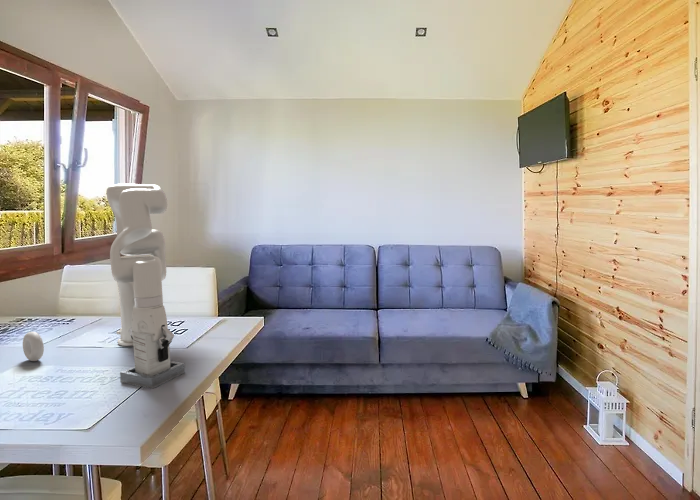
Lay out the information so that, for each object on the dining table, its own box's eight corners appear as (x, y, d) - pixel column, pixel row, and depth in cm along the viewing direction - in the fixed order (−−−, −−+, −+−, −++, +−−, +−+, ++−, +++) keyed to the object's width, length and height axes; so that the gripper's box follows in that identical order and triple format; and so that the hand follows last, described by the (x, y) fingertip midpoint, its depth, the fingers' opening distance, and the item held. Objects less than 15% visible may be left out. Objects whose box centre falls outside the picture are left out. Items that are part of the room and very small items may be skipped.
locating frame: (120, 382, 125) (120, 372, 124) (154, 367, 136) (153, 358, 136) (152, 388, 120) (152, 378, 120) (184, 372, 132) (184, 363, 131)
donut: (47, 362, 142) (44, 332, 141) (35, 365, 139) (32, 335, 138) (33, 356, 147) (31, 328, 146) (22, 359, 144) (19, 330, 143)
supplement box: (157, 364, 133) (155, 325, 132) (171, 369, 129) (169, 329, 128) (134, 372, 127) (131, 331, 126) (148, 378, 123) (145, 335, 122)
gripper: (116, 301, 126) (120, 359, 127) (161, 306, 119) (164, 367, 121) (137, 296, 132) (141, 350, 134) (181, 301, 126) (184, 358, 128)
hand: (152, 358), depth 128 cm, fingers closed on supplement box, 8 cm apart
